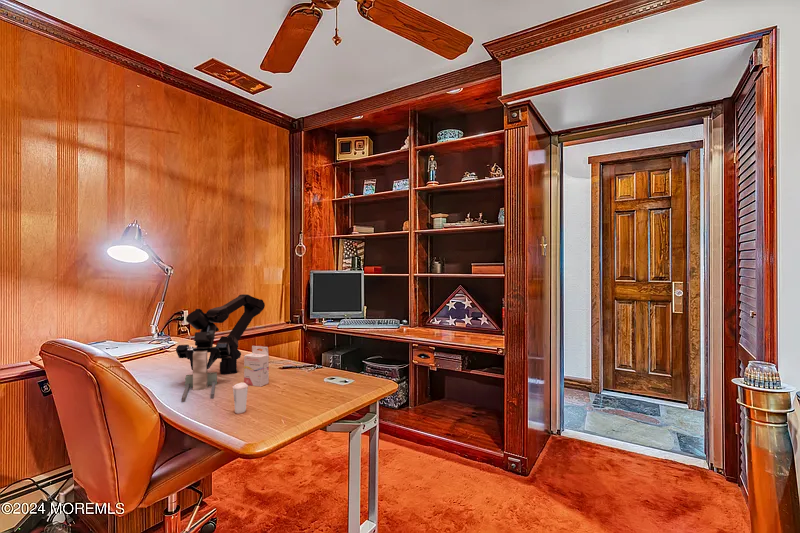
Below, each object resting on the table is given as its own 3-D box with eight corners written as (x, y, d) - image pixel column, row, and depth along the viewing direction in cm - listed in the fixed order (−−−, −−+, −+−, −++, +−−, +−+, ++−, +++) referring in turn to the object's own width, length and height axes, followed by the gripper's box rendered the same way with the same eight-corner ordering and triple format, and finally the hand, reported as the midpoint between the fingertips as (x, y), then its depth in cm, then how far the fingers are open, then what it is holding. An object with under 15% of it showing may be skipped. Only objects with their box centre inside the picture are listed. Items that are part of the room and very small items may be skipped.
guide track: (216, 381, 160) (216, 371, 160) (215, 398, 139) (215, 386, 139) (186, 385, 155) (186, 374, 155) (179, 402, 135) (179, 390, 135)
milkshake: (232, 409, 128) (232, 378, 128) (249, 409, 128) (249, 378, 128) (228, 414, 123) (227, 383, 123) (245, 414, 124) (245, 382, 124)
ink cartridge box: (243, 384, 155) (243, 347, 155) (251, 381, 160) (251, 345, 160) (261, 386, 152) (261, 349, 152) (269, 383, 157) (269, 346, 157)
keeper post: (207, 386, 154) (207, 350, 154) (206, 389, 150) (206, 352, 150) (194, 387, 152) (194, 351, 152) (193, 390, 148) (192, 353, 148)
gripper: (177, 324, 153) (167, 359, 143) (228, 322, 158) (223, 356, 147) (183, 340, 161) (174, 375, 150) (232, 338, 165) (227, 371, 155)
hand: (199, 369), depth 150 cm, fingers open, 5 cm apart
